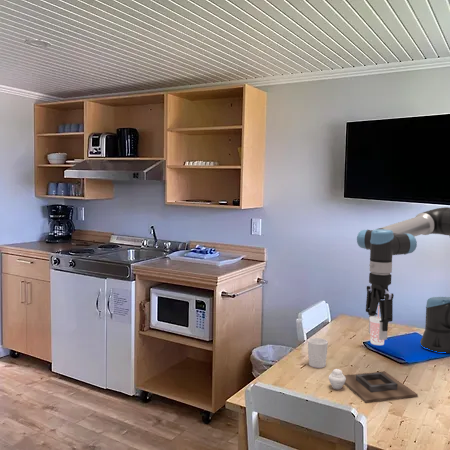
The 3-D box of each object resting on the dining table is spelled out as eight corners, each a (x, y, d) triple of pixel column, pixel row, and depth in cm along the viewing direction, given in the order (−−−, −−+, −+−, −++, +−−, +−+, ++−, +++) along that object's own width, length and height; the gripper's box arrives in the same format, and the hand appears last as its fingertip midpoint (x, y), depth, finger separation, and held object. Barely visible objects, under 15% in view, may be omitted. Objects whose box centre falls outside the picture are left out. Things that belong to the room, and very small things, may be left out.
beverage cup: (377, 347, 163) (379, 308, 162) (364, 341, 169) (366, 304, 167) (389, 344, 166) (391, 306, 165) (377, 339, 172) (378, 302, 170)
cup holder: (384, 373, 181) (385, 366, 181) (417, 396, 161) (417, 388, 161) (337, 378, 176) (338, 370, 176) (365, 402, 157) (366, 394, 156)
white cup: (328, 362, 192) (328, 339, 191) (325, 369, 184) (326, 345, 183) (308, 360, 194) (309, 336, 193) (305, 367, 187) (306, 342, 186)
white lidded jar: (342, 392, 164) (343, 373, 164) (325, 388, 167) (326, 369, 167) (347, 386, 169) (348, 367, 169) (331, 382, 173) (332, 364, 172)
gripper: (357, 268, 173) (354, 328, 176) (386, 278, 155) (383, 346, 157) (375, 267, 175) (372, 327, 177) (406, 277, 157) (402, 344, 159)
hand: (377, 336), depth 167 cm, fingers closed on beverage cup, 6 cm apart
